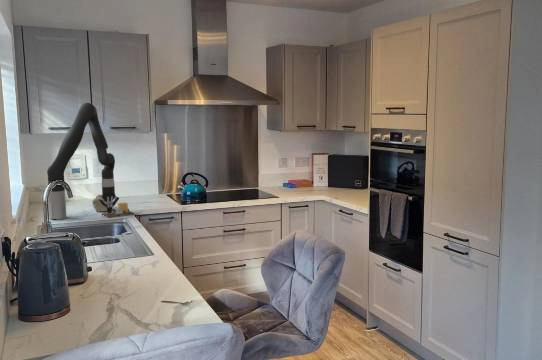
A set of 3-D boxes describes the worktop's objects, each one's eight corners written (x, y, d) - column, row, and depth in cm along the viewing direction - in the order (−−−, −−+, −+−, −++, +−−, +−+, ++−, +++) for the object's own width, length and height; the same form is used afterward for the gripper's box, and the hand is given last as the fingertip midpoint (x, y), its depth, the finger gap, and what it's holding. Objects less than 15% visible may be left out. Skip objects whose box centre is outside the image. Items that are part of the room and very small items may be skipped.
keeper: (115, 214, 311) (115, 209, 310) (109, 212, 318) (109, 207, 318) (122, 213, 313) (122, 208, 313) (116, 211, 321) (116, 206, 321)
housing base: (108, 218, 308) (108, 213, 307) (102, 215, 316) (102, 210, 315) (133, 214, 318) (132, 209, 317) (126, 211, 326) (126, 207, 325)
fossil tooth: (112, 214, 325) (90, 211, 325) (116, 211, 331) (93, 209, 331) (113, 197, 322) (90, 194, 323) (116, 195, 328) (94, 192, 329)
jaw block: (120, 213, 316) (120, 204, 315) (118, 212, 319) (117, 202, 318) (127, 212, 318) (127, 203, 317) (125, 211, 322) (124, 202, 321)
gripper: (116, 183, 317) (117, 210, 320) (95, 185, 309) (96, 213, 312) (120, 185, 312) (122, 212, 314) (99, 187, 303) (101, 215, 306)
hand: (109, 212), depth 313 cm, fingers closed
